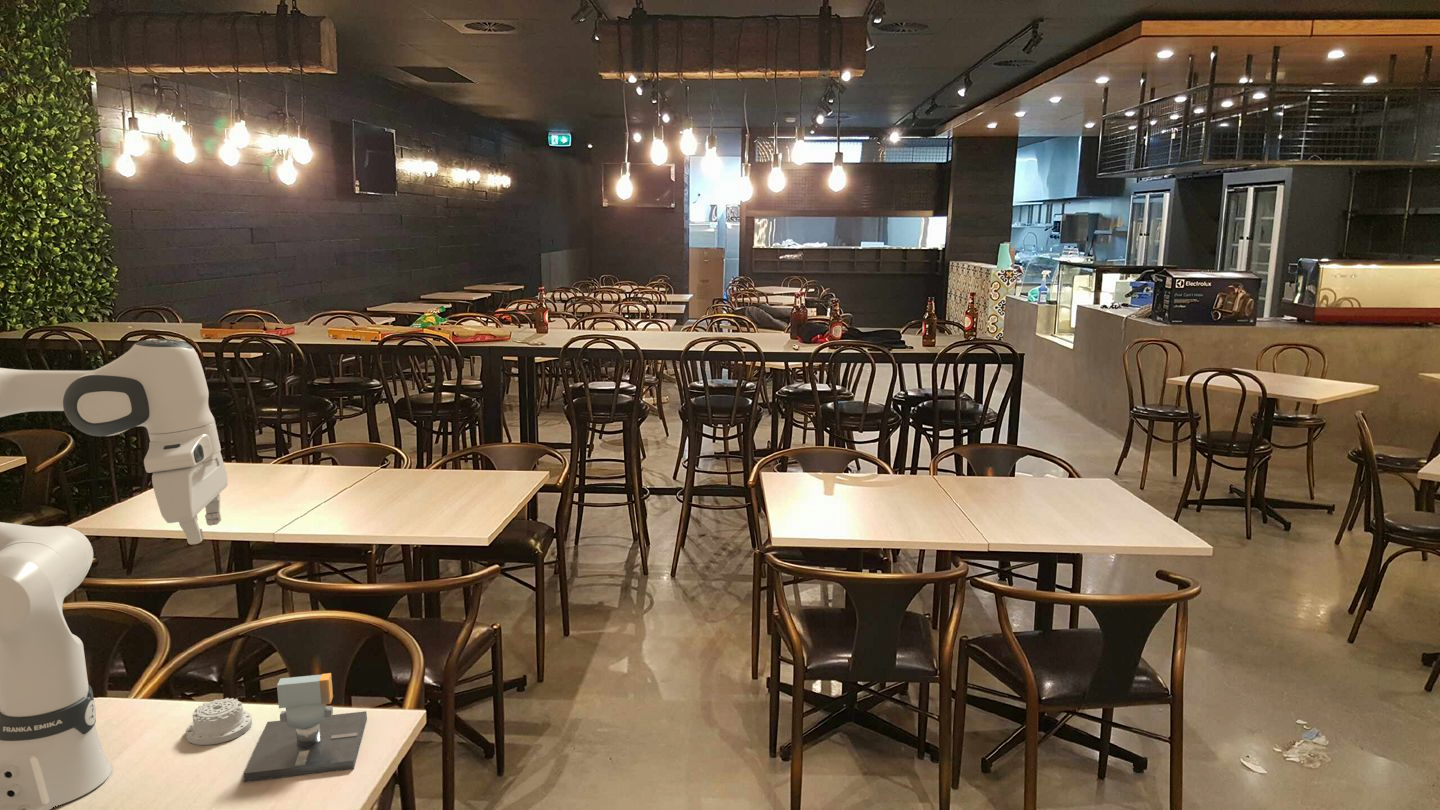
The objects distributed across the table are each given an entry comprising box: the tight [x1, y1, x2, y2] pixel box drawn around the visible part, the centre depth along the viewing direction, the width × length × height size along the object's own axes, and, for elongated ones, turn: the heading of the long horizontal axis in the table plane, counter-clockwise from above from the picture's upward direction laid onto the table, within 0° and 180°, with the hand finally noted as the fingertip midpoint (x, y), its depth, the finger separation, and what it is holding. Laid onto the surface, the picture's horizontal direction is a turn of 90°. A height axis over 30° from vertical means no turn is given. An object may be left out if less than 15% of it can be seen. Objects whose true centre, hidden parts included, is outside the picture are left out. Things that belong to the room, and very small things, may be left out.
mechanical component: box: [185, 697, 253, 746], centre depth 160 cm, size 10×4×10 cm
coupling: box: [276, 672, 334, 729], centre depth 153 cm, size 8×6×7 cm
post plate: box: [243, 710, 368, 783], centre depth 154 cm, size 16×16×5 cm
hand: (205, 532), depth 143 cm, fingers open, 8 cm apart
